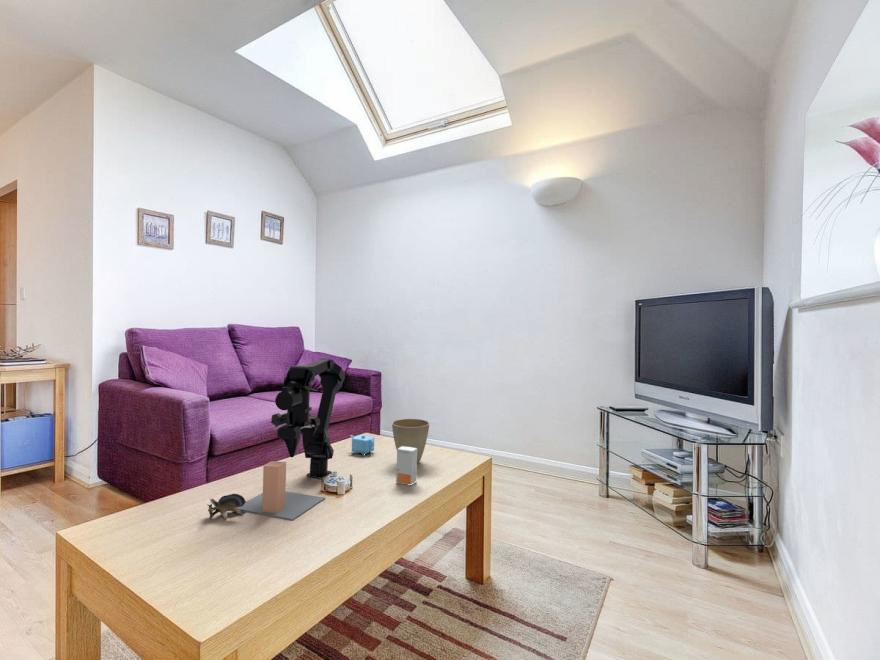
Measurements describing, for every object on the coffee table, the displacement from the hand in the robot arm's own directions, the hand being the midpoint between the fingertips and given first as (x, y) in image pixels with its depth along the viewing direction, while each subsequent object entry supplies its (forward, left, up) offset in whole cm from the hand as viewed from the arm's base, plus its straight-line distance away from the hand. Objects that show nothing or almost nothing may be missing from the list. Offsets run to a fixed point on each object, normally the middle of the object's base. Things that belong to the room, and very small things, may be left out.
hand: (298, 453), depth 140 cm
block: (+15, +3, -12) cm, 20 cm away
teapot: (-45, -1, -12) cm, 47 cm away
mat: (+11, +2, -12) cm, 16 cm away
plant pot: (-40, +23, -12) cm, 48 cm away
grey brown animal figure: (+23, -6, -12) cm, 27 cm away
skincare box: (-19, +30, -12) cm, 38 cm away
